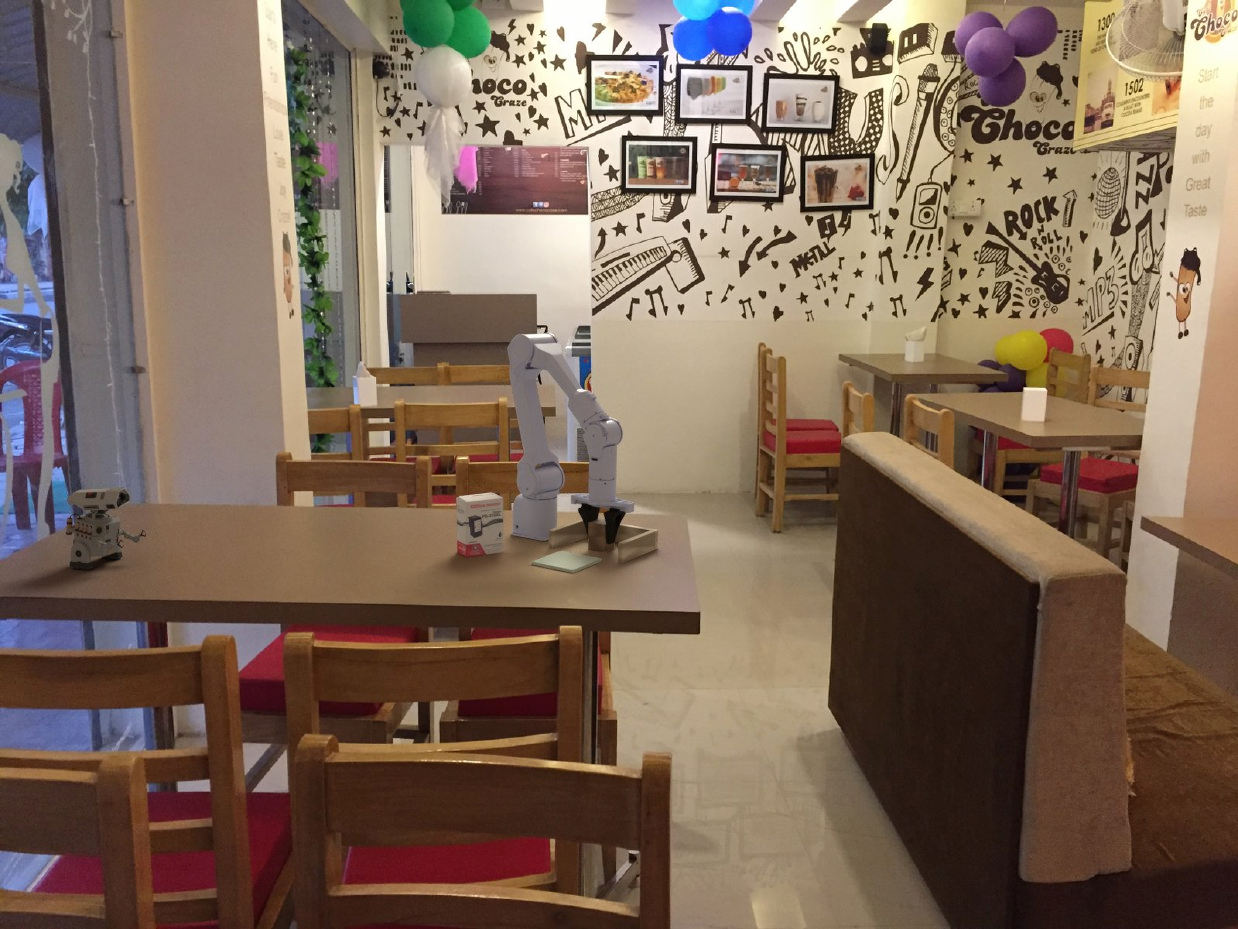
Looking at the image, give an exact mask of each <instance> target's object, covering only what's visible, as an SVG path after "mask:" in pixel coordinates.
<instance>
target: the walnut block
mask: <svg viewBox="0 0 1238 929" xmlns="http://www.w3.org/2000/svg"><path fill="white" fill-rule="evenodd" d="M587 539H588V540H587V541H588V542H587V544H588V545H587V550H588V551H591V552H596V553H597V552H598V553H601V554H606V553H608V552H611V551H614V550H615V548H616V547H615V546H616V545H615V544H616V542H615V543H612V544H607V541H606V522H605V518H598V519H597V520H594V521H591V522H589V523H588V537H587Z"/></svg>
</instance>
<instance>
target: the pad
mask: <svg viewBox="0 0 1238 929" xmlns="http://www.w3.org/2000/svg"><path fill="white" fill-rule="evenodd" d="M602 560H603V558H602V557H597V556H591V555H585V554H582V553H576V552H575V553H574V552H571V551H567V550H566V551H565V550H560V551H559V550H558V551H556V552H553V553H550V554H548V555H545V556H542V557H541V558H537V559H535V560H532V561H531V566H532V565H534V566H538V567H542V568H546V569H552V570H557V571H562V572H566V573H571V574H575V573H577V572H579V571H581V570H584V569H586V568H589V567H591V566H593V565H597V564H599V563H601V562H602Z"/></svg>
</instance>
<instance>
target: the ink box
mask: <svg viewBox="0 0 1238 929" xmlns="http://www.w3.org/2000/svg"><path fill="white" fill-rule="evenodd" d="M455 500H456V505H455V506H456V544H457V545H456V551H457V553H458V554H460V555H462V556H464V557H465V558H471V557H477V556H486V555H491V554H498V553H503V552H504V497H503V496H500V495H498V494H496V493H494V492H485V493H478V494H477V493H475V494H469V495H459V496H458V497H456V499H455Z"/></svg>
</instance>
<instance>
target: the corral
mask: <svg viewBox="0 0 1238 929" xmlns="http://www.w3.org/2000/svg"><path fill="white" fill-rule="evenodd" d="M586 538H588V536H587V531H586V528H585V525H584V522H583V520H582V518H581V519H578V520H574V521H571V522H569V523H566V524H563V525H560V526H557V528H554V529H551V530H549V540H548V549H549V550H556V549H558V548H562V547H565V546H567V545H569V544H572V543H576V542H578V541H581V540H583V539H586ZM616 543H617V546H618V547H617V563H620V564H624V563H626V562H629V561H632V560H635V558H638V557H641V556H643V555H645V554H648V553H651V552H652V551H654V550H657V549H658V548H659V529H655V528H654V529H653V528H648V527H643V526H639V525H638V526H636V525H632V524H625V523H620V526H619V528H618V531H617V535H616V539H615V544H616Z"/></svg>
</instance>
